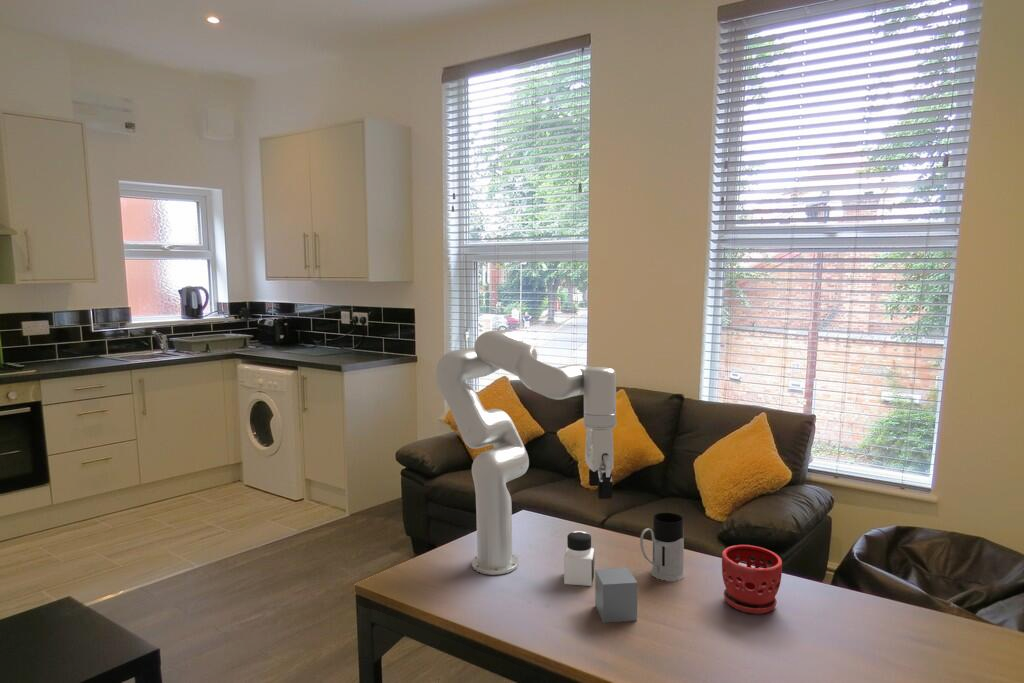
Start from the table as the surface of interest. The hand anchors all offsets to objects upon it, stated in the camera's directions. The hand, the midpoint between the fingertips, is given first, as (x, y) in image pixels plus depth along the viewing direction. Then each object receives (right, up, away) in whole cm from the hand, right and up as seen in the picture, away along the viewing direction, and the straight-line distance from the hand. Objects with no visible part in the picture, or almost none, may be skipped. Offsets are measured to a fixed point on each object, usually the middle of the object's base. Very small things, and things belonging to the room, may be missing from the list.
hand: (600, 491), depth 151 cm
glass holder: (+17, -25, +14) cm, 34 cm away
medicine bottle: (-4, -26, +13) cm, 29 cm away
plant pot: (+35, -26, -2) cm, 44 cm away
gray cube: (+3, -27, -5) cm, 27 cm away
